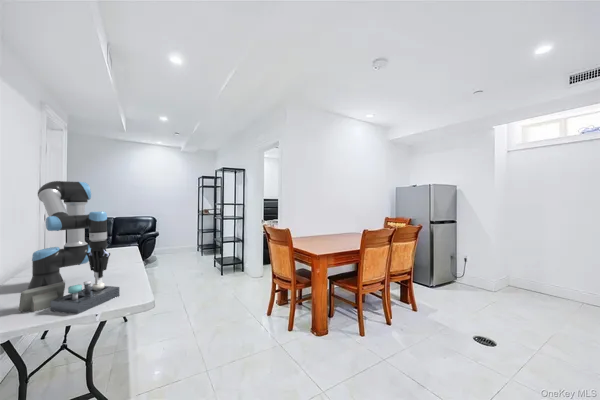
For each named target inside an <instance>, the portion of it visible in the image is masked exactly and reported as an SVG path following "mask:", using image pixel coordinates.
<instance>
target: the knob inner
mask: <svg viewBox="0 0 600 400" xmlns="http://www.w3.org/2000/svg"><path fill="white" fill-rule="evenodd" d="M92 286H93V290H96V292H98V291H101V289H103V288H105V287H104V286H105V282H103V281H102V283H100V284H95V283H93V284H92Z"/></svg>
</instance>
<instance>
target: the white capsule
mask: <svg viewBox="0 0 600 400" xmlns="http://www.w3.org/2000/svg"><path fill="white" fill-rule="evenodd" d="M91 284H92V281H91V280H87V281H84V282H83V285H84V288H83V289H84V294H90V287H91Z"/></svg>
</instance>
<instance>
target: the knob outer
mask: <svg viewBox="0 0 600 400" xmlns="http://www.w3.org/2000/svg"><path fill="white" fill-rule="evenodd" d="M67 289H68V290H67V293H68V294H71V293H72V298H73V301H75V300H77V299H78V292H80V291H82V290H83V285H82V284H75V285H74V284H73V285H70V286H68V287H67Z"/></svg>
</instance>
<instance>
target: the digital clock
mask: <svg viewBox="0 0 600 400" xmlns="http://www.w3.org/2000/svg"><path fill="white" fill-rule="evenodd" d="M65 289H66V282H65V281H64V282H61V283H56V284H52V285H47V286H43V287H38V288H34V289H29V290H28V289H26V290H23V291H21V293H20V295H19V297H20V299H19V304H18V305H19V307H18V311H20V312H26V311H31V312H33V313H35V312H39V311H42V310H46V309H51V300H54V299H57V298H60V297H63V296H65Z"/></svg>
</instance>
